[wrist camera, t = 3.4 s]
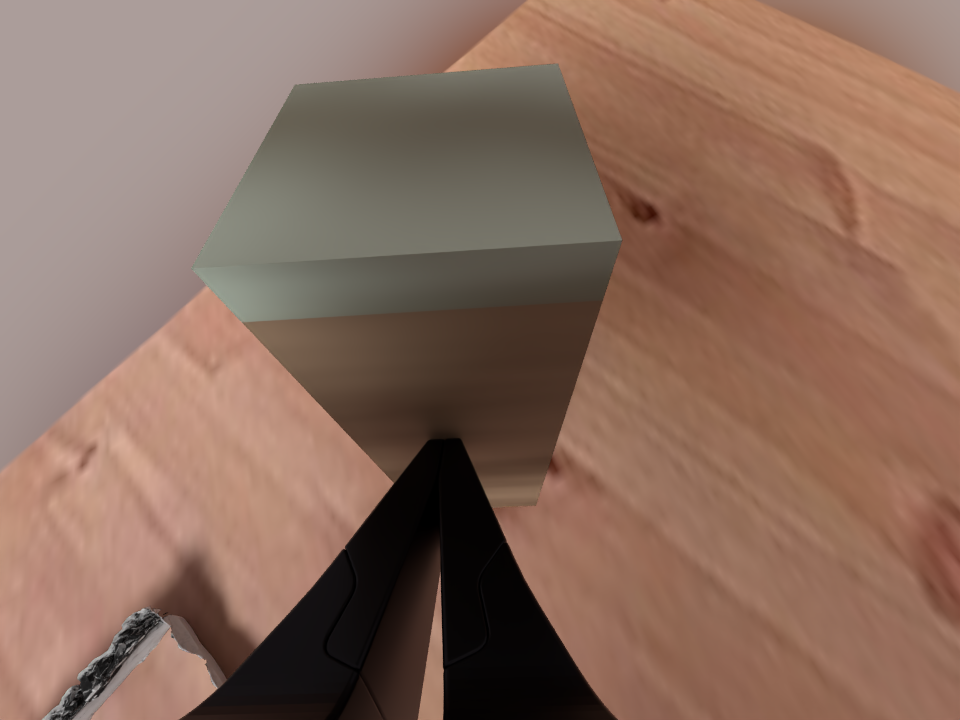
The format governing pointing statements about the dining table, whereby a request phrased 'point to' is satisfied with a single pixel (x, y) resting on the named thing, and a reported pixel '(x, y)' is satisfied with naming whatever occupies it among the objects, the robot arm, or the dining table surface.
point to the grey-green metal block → (426, 262)
